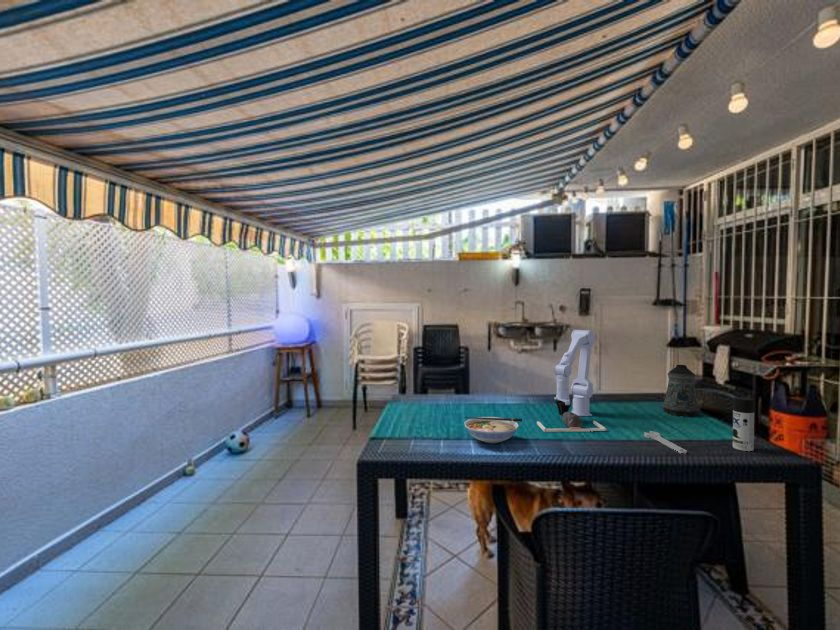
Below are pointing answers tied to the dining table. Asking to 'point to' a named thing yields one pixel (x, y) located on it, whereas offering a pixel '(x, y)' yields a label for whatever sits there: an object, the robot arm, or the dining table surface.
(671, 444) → the adjustable wrench
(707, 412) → the dining table surface
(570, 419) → the perforated stone tool
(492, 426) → the ramen bowl
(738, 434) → the spray can
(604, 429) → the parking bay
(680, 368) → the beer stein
